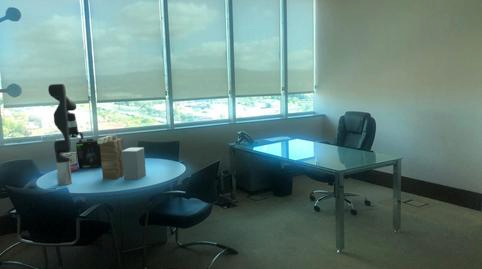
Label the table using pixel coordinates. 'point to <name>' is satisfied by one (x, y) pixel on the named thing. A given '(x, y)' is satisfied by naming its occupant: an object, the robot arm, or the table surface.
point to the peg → (106, 139)
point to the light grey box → (133, 163)
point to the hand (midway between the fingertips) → (75, 144)
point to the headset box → (88, 154)
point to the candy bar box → (72, 160)
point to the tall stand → (112, 159)
